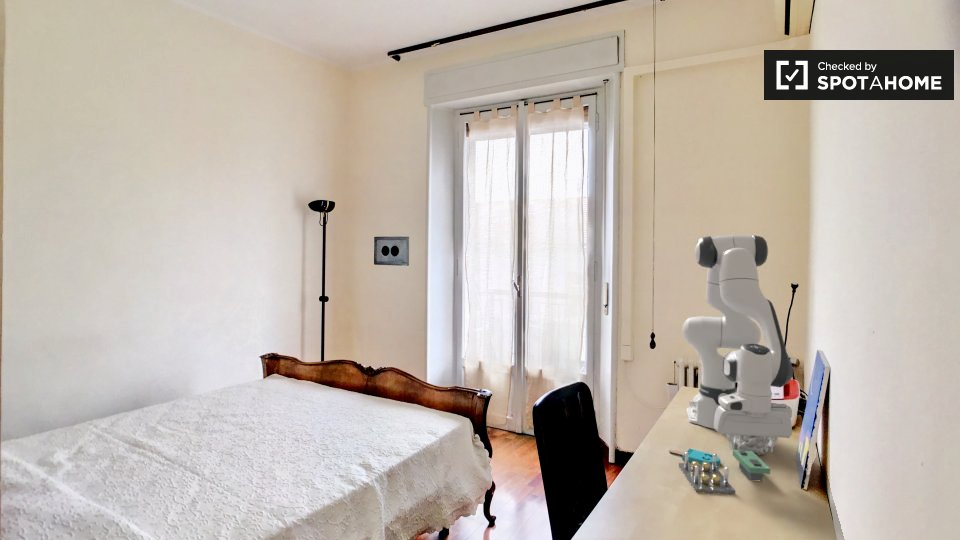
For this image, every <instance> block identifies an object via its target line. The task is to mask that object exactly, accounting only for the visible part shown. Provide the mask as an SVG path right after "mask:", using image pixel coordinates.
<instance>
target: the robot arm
mask: <svg viewBox="0 0 960 540" xmlns="http://www.w3.org/2000/svg"><path fill="white" fill-rule="evenodd" d="M768 255H769V247H768V242H767V241H766V240H765V238H764V237H762V236H760V235H753V234H751V235H743V234H730V235H716V236H705V237H701V238H699V240H697V243H696V245H695V248H694V257H695V259H696V262H697V264H698V265H699V266H700V267H704V268H707V274H706V284H705V285H706V286H705V301H706V303H707V304H708V305H709V306H710V307H712V308H713V309H714V310H716V311H719V312H720V313H721V314H723V316H721V317H718V316H706V315H705V316H703V315H699V316H691V317H688V318H687V319H686V320H685V321H684V323H683V324H682V328H681V333H682V336H683V339H684V340H685V341H686V343H687V344H689V345H690V346H691V347H692V348H693V349H694V350H695V351H696V353H697V355H698V357H699V360H700V365H701V382H700V384H699V389H698V393H697V394H696V395H695V396H693V399H691V400H689V407H686V411H685V412H686V415H687V418H688V421H689V422H690V424H691V423H692V424H696V425H700V426H702V427H705V428H709V429H713V430H715V431H716V432H717V433H718V434H720V435H726V437H727V439H728V441H729V442H730V445H729V447H730V450H732V451H733V450H738V448H737V447H738V444H737V443H736V442H734V441H733V439H732V438H734V435H745V436H763V437H764V438H766V437H769V439H771V440H770V441H769V443H768V444H765V449H764V452H766V453H773V451H774V447H775V445H776V444H777V443H778V440H779V438H784V439H789V438H790V437H791V436H792V435H793V434H792V433H793V428H792V416H793V410H792V408H791V406H789V405H788V404H786V403H776V402H775V403H773V402H772V398H773V397H772V394H773V393H772V387H774V388H782V387H784V386H785V385H786V384H788V383H789V382H790V381H791V380H792V378H793V375H794V374H793V373H794V370H793V366H792V361H791V358H790V357H789V355H788V353H787V349H786V346H785V342H784V338H783V334H782V329H781V327H780V323H779V319H778V316H777V312H776V309H775V307H774V305H773V303H772V301H771V300H770V299H767V298H766V297H765V295H764V294H763V292H762V290H761V287H760V283H759V274H758V268H757V267H760V266H762V265H764V264H765V263H766V262H767V260H768ZM752 319H753V320H752ZM757 323H758V324H759V325H758V324H757ZM759 326H760V327H759ZM760 328H761V329H760ZM762 334H763V335H762ZM762 336H763V338H764V339H763V340H764V343H765V345H766V346H765V345H763V344H760V341H761V339H762V338H761V337H762ZM718 349H731V351H729V352H728V353H727V354H726V355H725V356H723V355H721V354H720V353H719V352H718ZM736 383H737V387H736Z"/></svg>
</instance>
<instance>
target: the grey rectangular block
mask: <svg viewBox="0 0 960 540" xmlns="http://www.w3.org/2000/svg"><path fill="white" fill-rule="evenodd" d="M738 464H739V465H738V469H739V470H740V469H741V470H740V471H741V472H742V473H743V474H744V475H745V476H746V478H747V479H749V481H751V480H761V481H760V482H762V481H763V479H762V478H763V474H759V473H749V472H748V471H747V470H746V469H745V468H744V467H743V466H742V465H741V464H740V462H739V461H738Z"/></svg>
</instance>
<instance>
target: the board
mask: <svg viewBox="0 0 960 540" xmlns="http://www.w3.org/2000/svg"><path fill="white" fill-rule="evenodd" d="M732 456H733V457H734V458H735V460H736V461H738V463H739V462H740V464H741V465H742V466H743V467H744V468H745V469H746V470H747V471H748V472H749V473H759V474H762V475H763V474H764V475H771V468H770V466H768V465H767V464H766V463H765V462H764V461H763V460H762V459H761V458H760V457H759V455H756V454H755V453H754V452H752V451H741V450H732Z"/></svg>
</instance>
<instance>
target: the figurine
mask: <svg viewBox="0 0 960 540" xmlns="http://www.w3.org/2000/svg"><path fill="white" fill-rule="evenodd" d="M732 439H733V441H734V442H736V443H737V444H738V447H737V448H738V450H741V451H752V452H754V453H755V454H757V456H761V455H764V454H765V444H768V443H769V441H770V440H771V439H770V438H769V437H763V436H745V435H734V438H732Z"/></svg>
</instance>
